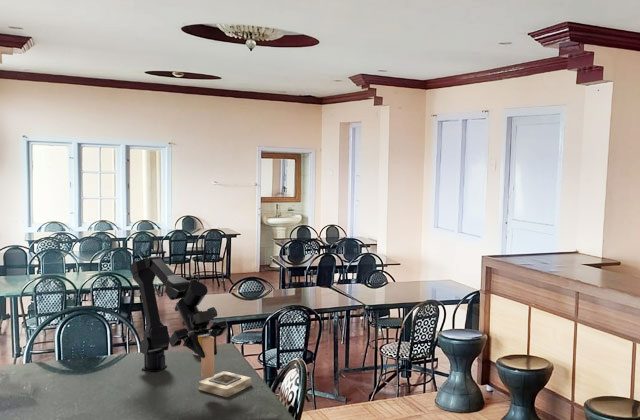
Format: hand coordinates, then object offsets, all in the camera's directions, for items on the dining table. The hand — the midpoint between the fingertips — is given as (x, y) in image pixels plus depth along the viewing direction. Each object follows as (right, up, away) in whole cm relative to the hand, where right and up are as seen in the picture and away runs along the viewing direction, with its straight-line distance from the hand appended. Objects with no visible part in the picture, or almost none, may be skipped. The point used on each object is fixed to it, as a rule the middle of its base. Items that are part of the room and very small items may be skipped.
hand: (210, 356), depth 178 cm
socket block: (+3, -12, +9) cm, 15 cm away
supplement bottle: (-12, -10, +43) cm, 46 cm away
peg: (-1, -7, +1) cm, 7 cm away
